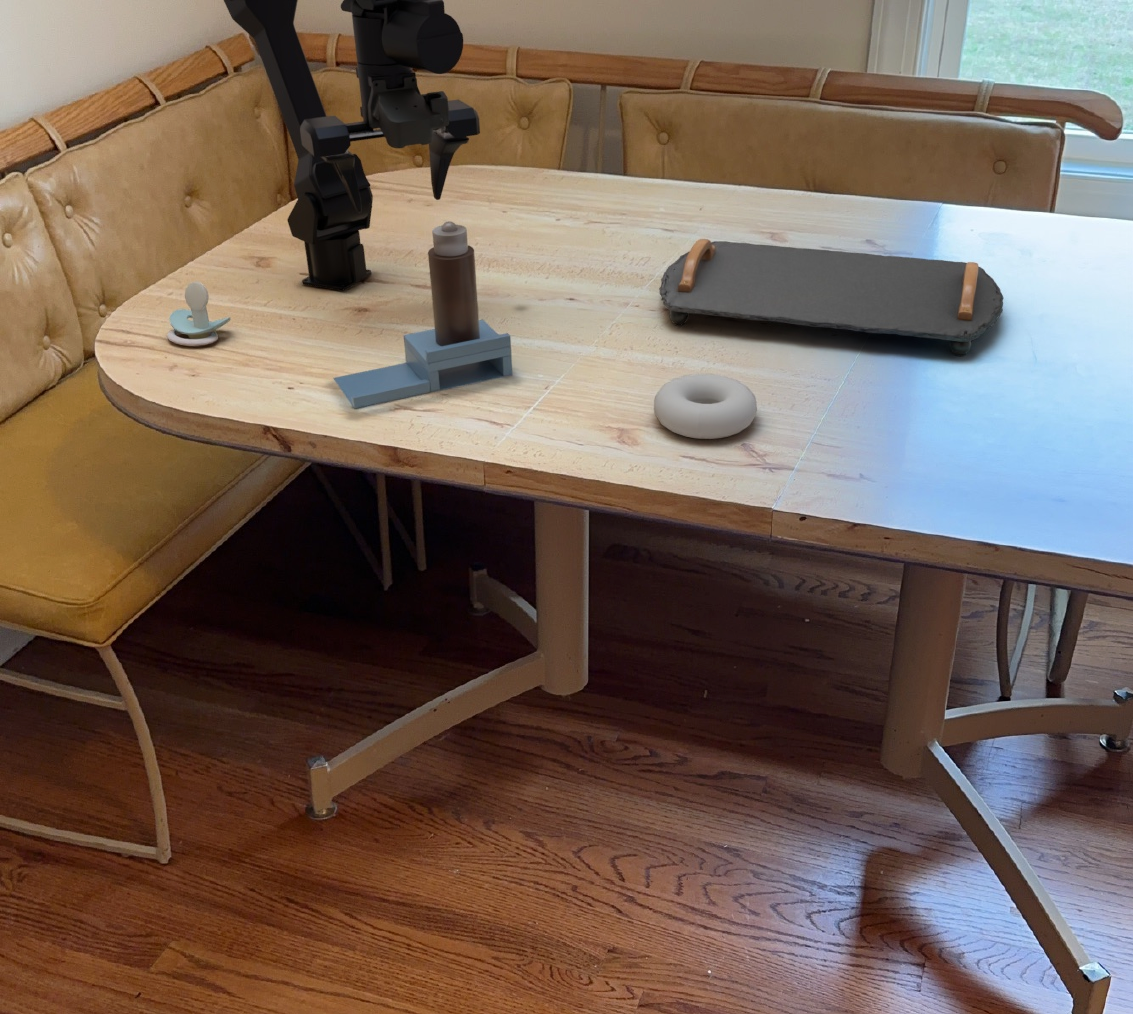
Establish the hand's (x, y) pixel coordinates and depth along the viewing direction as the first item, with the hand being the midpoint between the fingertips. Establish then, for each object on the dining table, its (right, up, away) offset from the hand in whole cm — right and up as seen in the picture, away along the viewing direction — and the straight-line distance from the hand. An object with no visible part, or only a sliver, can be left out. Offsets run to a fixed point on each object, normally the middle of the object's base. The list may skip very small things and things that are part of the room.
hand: (398, 205), depth 136 cm
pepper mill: (+8, -16, -10) cm, 21 cm away
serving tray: (+49, -11, +5) cm, 51 cm away
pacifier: (-23, -15, +2) cm, 28 cm away
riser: (+4, -21, -9) cm, 23 cm away
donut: (+32, -26, -18) cm, 45 cm away
